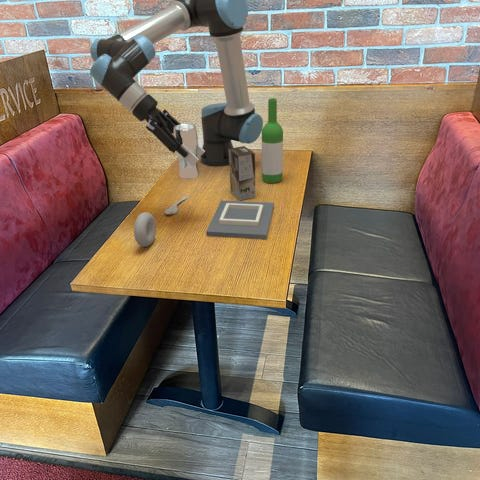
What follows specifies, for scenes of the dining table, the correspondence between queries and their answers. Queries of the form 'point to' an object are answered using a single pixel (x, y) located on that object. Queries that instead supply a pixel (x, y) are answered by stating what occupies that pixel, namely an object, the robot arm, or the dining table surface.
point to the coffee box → (242, 172)
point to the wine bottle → (272, 146)
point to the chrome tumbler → (189, 139)
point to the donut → (144, 229)
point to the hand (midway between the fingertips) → (199, 158)
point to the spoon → (175, 206)
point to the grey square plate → (241, 220)
